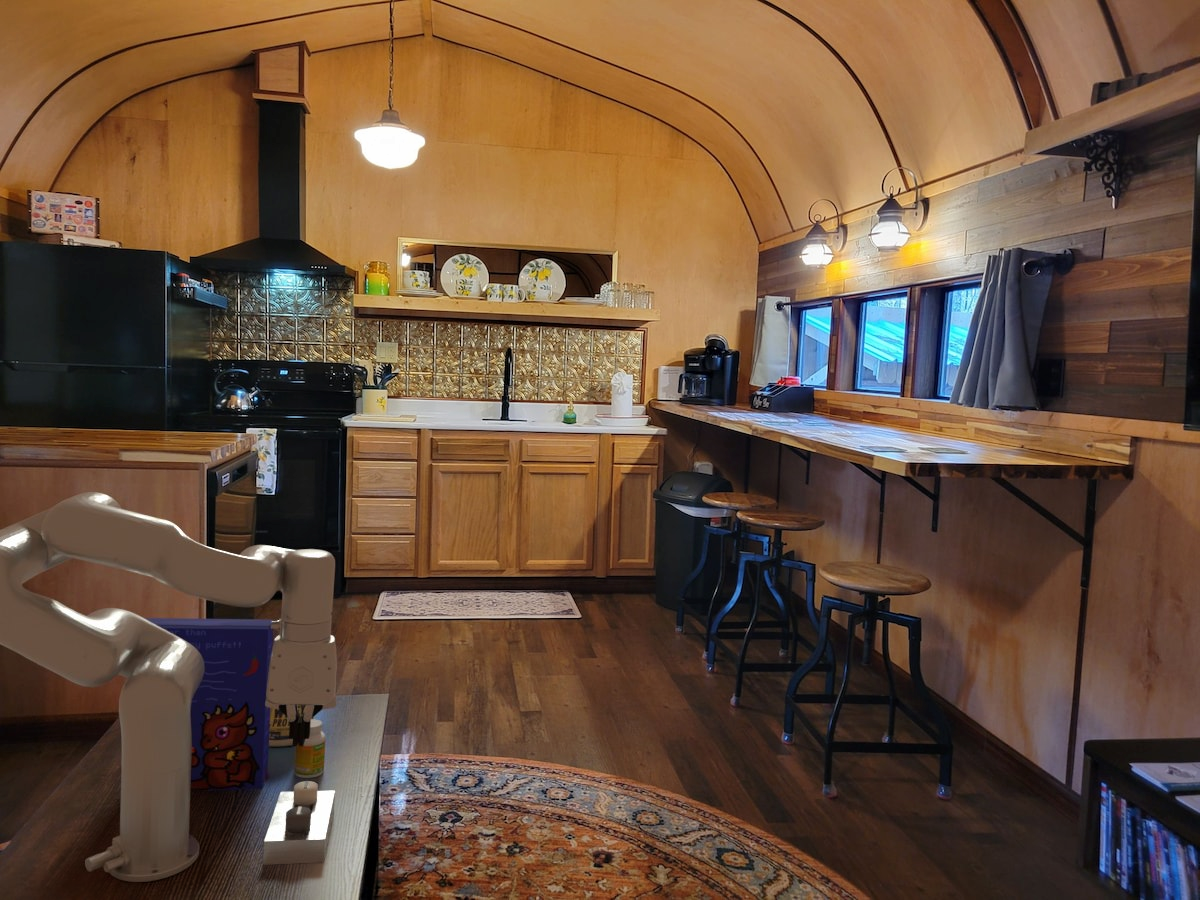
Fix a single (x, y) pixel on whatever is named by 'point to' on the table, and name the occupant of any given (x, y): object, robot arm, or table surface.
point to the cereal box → (228, 701)
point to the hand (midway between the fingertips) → (299, 742)
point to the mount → (299, 848)
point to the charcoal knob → (298, 820)
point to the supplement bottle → (311, 753)
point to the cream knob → (305, 793)
